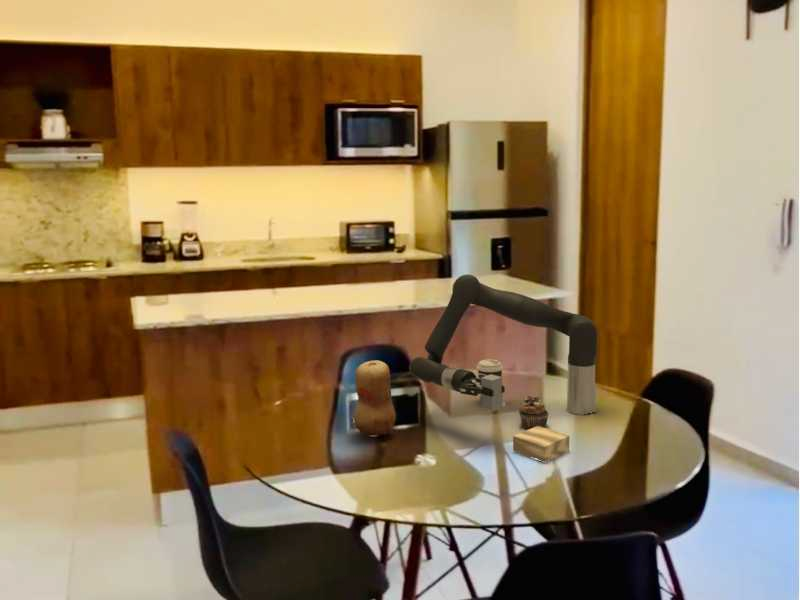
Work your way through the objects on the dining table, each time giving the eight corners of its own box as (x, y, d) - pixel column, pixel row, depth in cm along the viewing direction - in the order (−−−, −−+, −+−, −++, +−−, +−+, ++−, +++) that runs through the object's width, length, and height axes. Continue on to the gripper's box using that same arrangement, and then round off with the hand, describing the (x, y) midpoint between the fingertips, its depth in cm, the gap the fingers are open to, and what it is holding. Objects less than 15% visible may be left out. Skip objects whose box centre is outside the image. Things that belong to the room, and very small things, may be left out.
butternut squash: (346, 439, 249) (343, 365, 244) (367, 425, 261) (364, 354, 256) (384, 446, 243) (381, 370, 238) (404, 431, 254) (402, 359, 249)
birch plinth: (537, 440, 244) (537, 425, 243) (569, 451, 235) (569, 435, 234) (513, 451, 236) (513, 436, 235) (544, 462, 227) (544, 446, 226)
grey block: (491, 404, 244) (491, 374, 242) (502, 407, 240) (501, 377, 238) (481, 408, 241) (481, 377, 239) (492, 411, 237) (492, 380, 235)
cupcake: (548, 432, 251) (548, 403, 248) (518, 430, 252) (518, 401, 250) (548, 421, 260) (549, 393, 258) (519, 420, 262) (519, 392, 260)
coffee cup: (504, 406, 275) (504, 366, 272) (477, 407, 276) (477, 366, 273) (501, 397, 285) (501, 358, 282) (475, 398, 285) (475, 359, 282)
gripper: (442, 373, 244) (482, 385, 232) (473, 364, 254) (513, 374, 241) (443, 396, 246) (482, 408, 233) (473, 385, 255) (513, 397, 243)
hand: (498, 391), depth 237 cm, fingers closed on grey block, 4 cm apart
